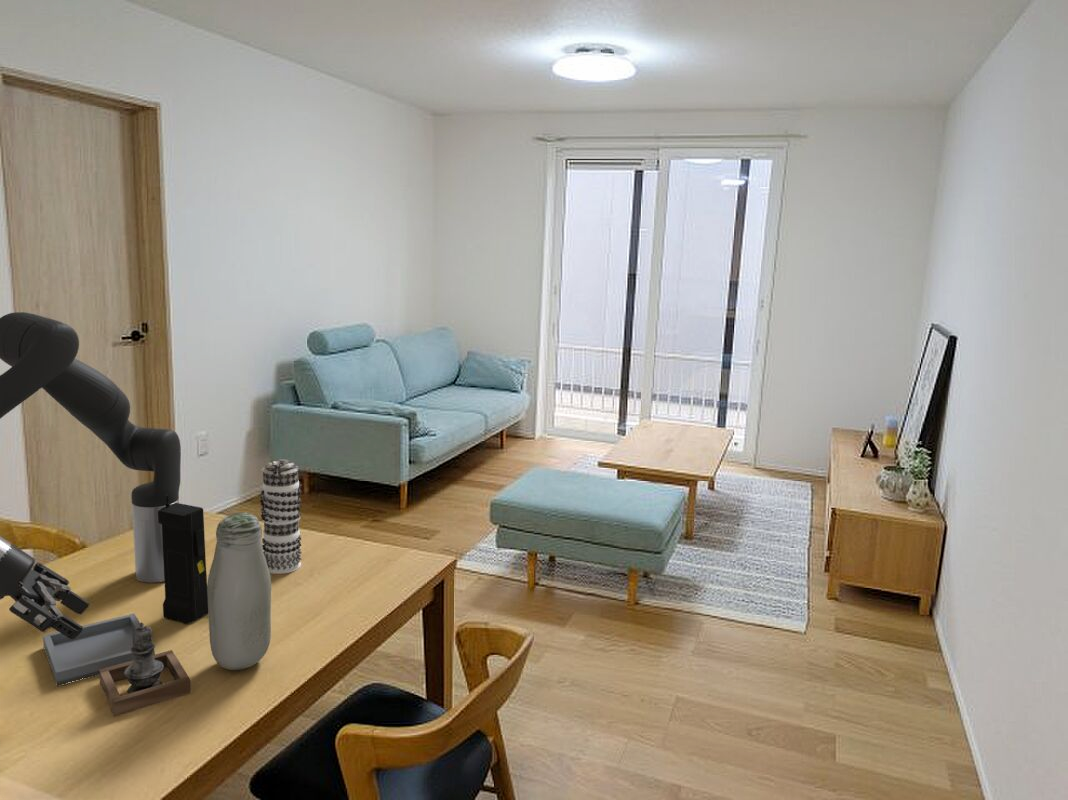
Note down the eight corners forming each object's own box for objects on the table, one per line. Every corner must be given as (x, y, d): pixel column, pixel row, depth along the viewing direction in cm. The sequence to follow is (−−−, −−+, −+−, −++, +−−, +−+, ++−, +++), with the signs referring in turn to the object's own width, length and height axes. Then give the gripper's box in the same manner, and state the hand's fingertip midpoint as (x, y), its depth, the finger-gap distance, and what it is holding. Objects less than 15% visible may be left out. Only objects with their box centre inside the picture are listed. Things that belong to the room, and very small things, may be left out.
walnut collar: (99, 683, 129) (99, 669, 129) (172, 662, 136) (171, 649, 136) (114, 716, 121) (113, 702, 120) (191, 693, 128) (190, 679, 127)
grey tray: (44, 647, 139) (42, 635, 139) (135, 625, 149) (134, 613, 148) (57, 686, 128) (56, 672, 127) (154, 659, 137) (154, 646, 137)
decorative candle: (311, 564, 180) (310, 462, 175) (279, 578, 172) (277, 470, 167) (285, 555, 184) (283, 454, 179) (252, 567, 177) (250, 462, 172)
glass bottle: (236, 686, 131) (232, 530, 125) (199, 666, 136) (193, 516, 130) (283, 661, 139) (281, 514, 133) (246, 643, 144) (242, 501, 138)
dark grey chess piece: (148, 701, 125) (145, 633, 123) (117, 695, 126) (112, 628, 124) (172, 681, 131) (169, 616, 128) (141, 676, 132) (138, 611, 130)
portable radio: (216, 613, 155) (211, 494, 150) (193, 626, 149) (188, 503, 144) (184, 605, 157) (179, 488, 152) (161, 618, 152) (155, 497, 147)
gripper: (-2, 562, 110) (95, 624, 117) (18, 527, 123) (104, 585, 129) (-44, 602, 109) (57, 662, 116) (-19, 562, 121) (70, 618, 128)
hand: (82, 621), depth 123 cm, fingers open, 8 cm apart
